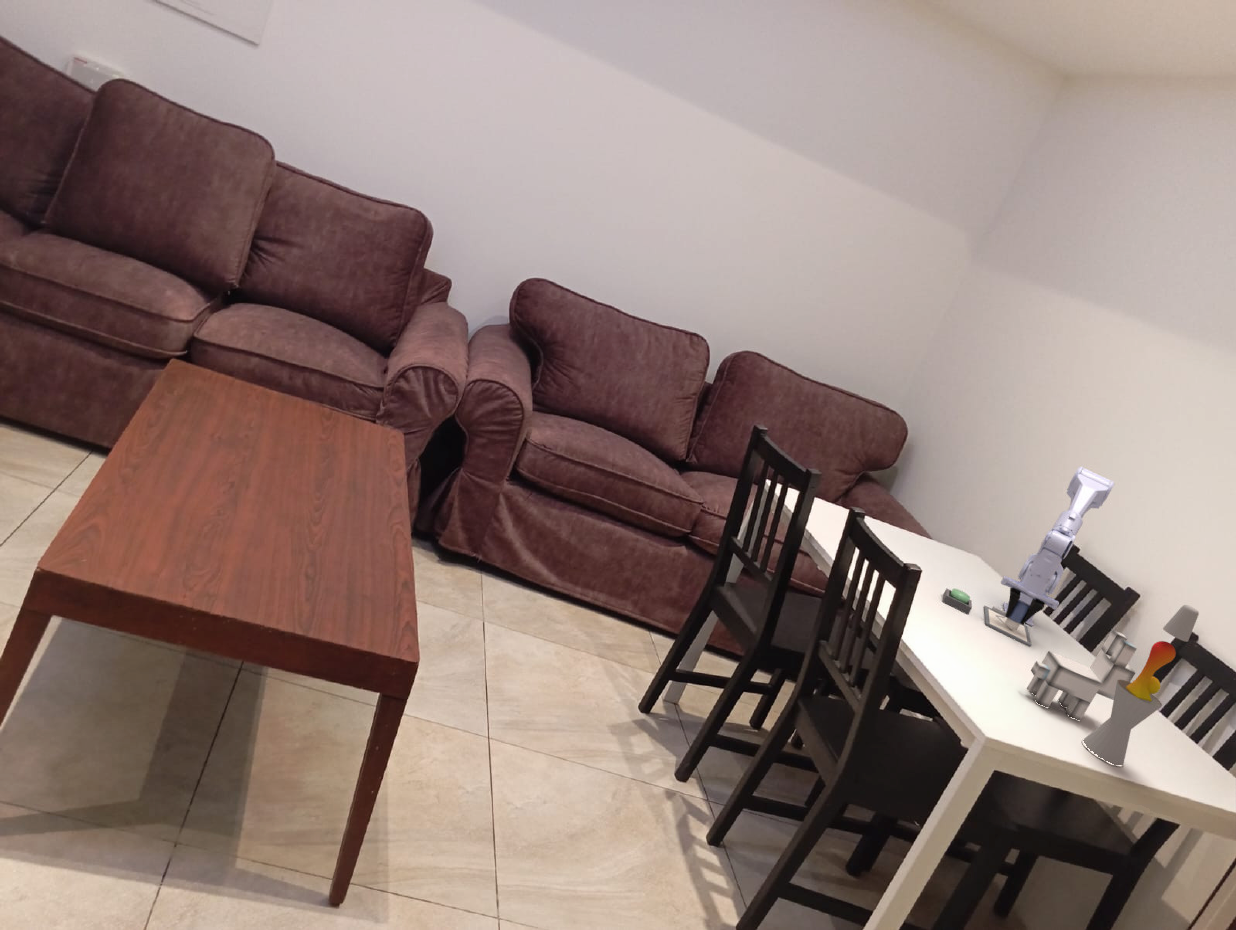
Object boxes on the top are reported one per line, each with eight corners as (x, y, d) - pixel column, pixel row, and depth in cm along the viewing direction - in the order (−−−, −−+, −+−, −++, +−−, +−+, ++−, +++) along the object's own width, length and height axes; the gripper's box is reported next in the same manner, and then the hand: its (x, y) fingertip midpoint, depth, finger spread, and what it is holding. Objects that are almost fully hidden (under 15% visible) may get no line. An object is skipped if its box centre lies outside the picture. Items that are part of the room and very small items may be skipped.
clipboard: (983, 607, 277) (986, 602, 277) (1026, 627, 275) (1029, 622, 274) (984, 625, 262) (987, 619, 262) (1030, 647, 260) (1033, 641, 259)
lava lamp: (1100, 763, 204) (1192, 614, 195) (1071, 735, 212) (1158, 591, 203) (1133, 770, 208) (1225, 624, 198) (1103, 743, 216) (1190, 601, 206)
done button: (949, 593, 271) (952, 586, 271) (966, 601, 270) (970, 595, 270) (949, 598, 267) (952, 591, 266) (966, 606, 266) (970, 600, 265)
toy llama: (1016, 684, 229) (1060, 608, 224) (1088, 713, 230) (1133, 638, 224) (1026, 700, 222) (1072, 622, 217) (1100, 730, 222) (1147, 653, 217)
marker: (1004, 621, 267) (1016, 598, 265) (1016, 627, 266) (1029, 604, 264) (1004, 625, 264) (1017, 602, 262) (1017, 631, 263) (1030, 608, 261)
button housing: (943, 594, 273) (946, 588, 273) (968, 606, 272) (971, 600, 271) (942, 602, 267) (946, 595, 266) (968, 614, 265) (971, 607, 264)
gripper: (1013, 565, 259) (987, 611, 262) (1068, 592, 256) (1042, 637, 259) (1011, 558, 265) (987, 603, 269) (1066, 584, 262) (1040, 629, 266)
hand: (1014, 619), depth 265 cm, fingers closed on marker, 3 cm apart
